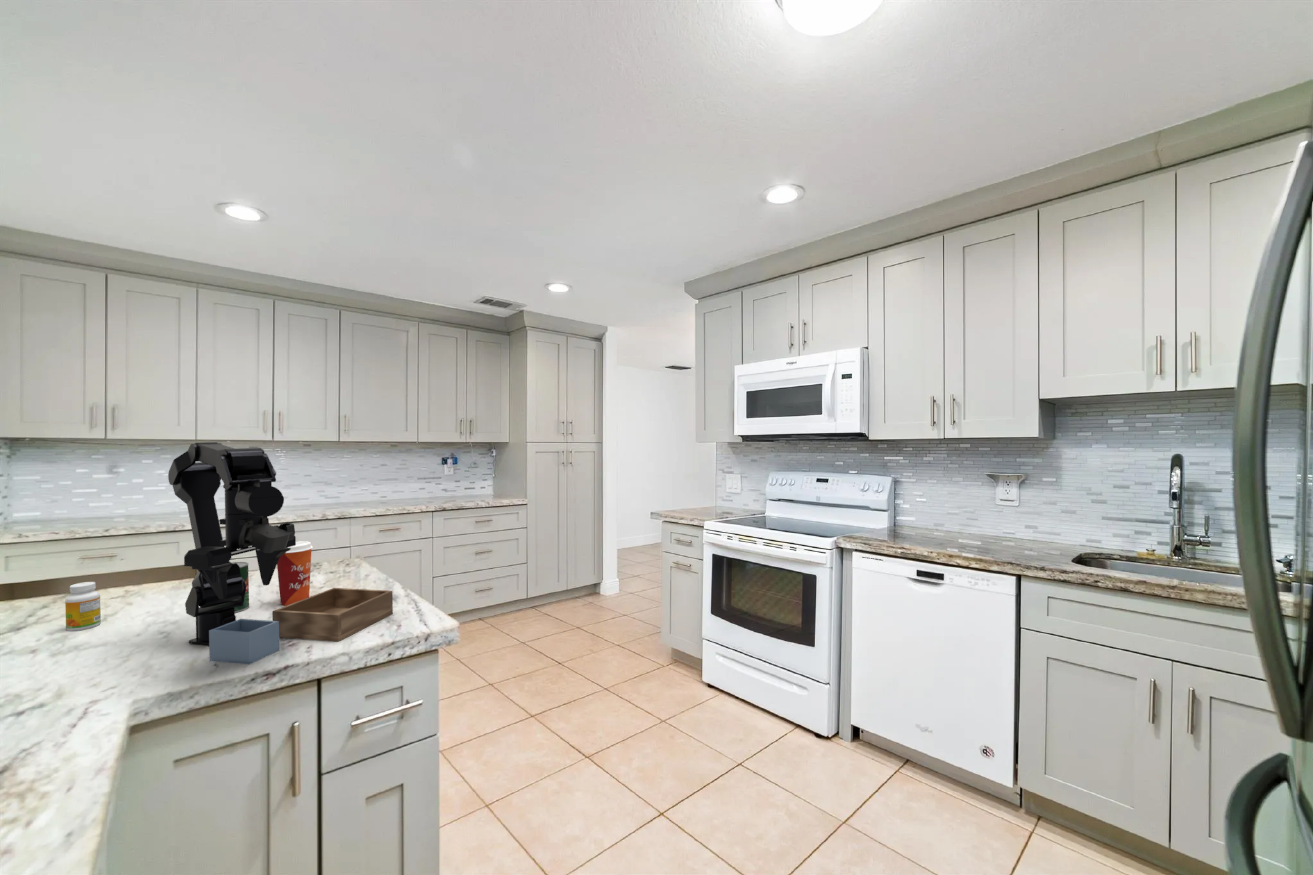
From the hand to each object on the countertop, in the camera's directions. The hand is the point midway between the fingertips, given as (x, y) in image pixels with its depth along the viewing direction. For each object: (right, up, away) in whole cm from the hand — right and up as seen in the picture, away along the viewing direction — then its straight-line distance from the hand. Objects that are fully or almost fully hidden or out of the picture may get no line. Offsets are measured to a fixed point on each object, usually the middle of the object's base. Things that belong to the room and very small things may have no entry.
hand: (245, 591), depth 105 cm
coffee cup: (-12, -12, +33) cm, 37 cm away
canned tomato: (-25, -12, +27) cm, 39 cm away
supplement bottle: (-49, -13, +16) cm, 53 cm away
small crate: (0, -13, 0) cm, 13 cm away
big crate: (+8, -12, +16) cm, 22 cm away
